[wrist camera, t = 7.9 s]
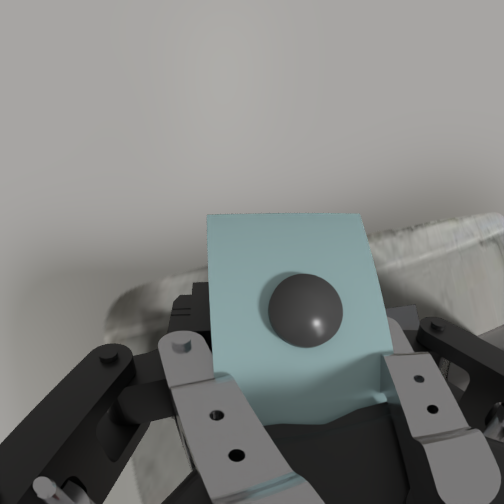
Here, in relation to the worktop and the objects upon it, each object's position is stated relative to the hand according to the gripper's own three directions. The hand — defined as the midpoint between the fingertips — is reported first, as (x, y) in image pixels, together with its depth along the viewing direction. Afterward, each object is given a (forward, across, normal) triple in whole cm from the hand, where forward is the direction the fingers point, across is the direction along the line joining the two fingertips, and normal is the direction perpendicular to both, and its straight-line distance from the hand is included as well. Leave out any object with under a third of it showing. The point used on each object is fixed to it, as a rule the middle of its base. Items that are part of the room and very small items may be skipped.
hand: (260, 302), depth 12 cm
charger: (+2, 0, +5) cm, 5 cm away
